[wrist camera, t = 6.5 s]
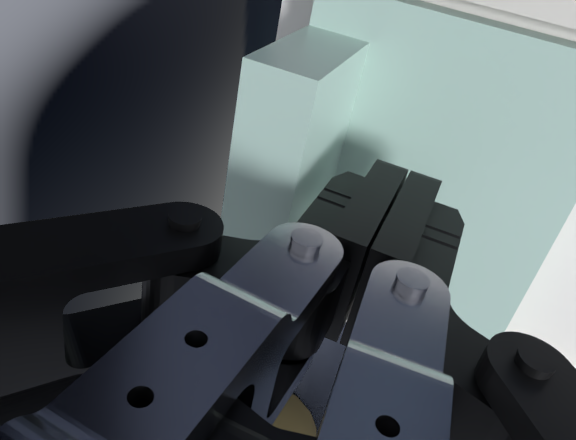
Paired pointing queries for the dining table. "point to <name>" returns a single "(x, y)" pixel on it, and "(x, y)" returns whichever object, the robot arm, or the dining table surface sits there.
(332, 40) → the mint green l-shaped block
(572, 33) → the socket
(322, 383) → the dining table surface
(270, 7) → the dining table surface
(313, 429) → the squeeze bottle
